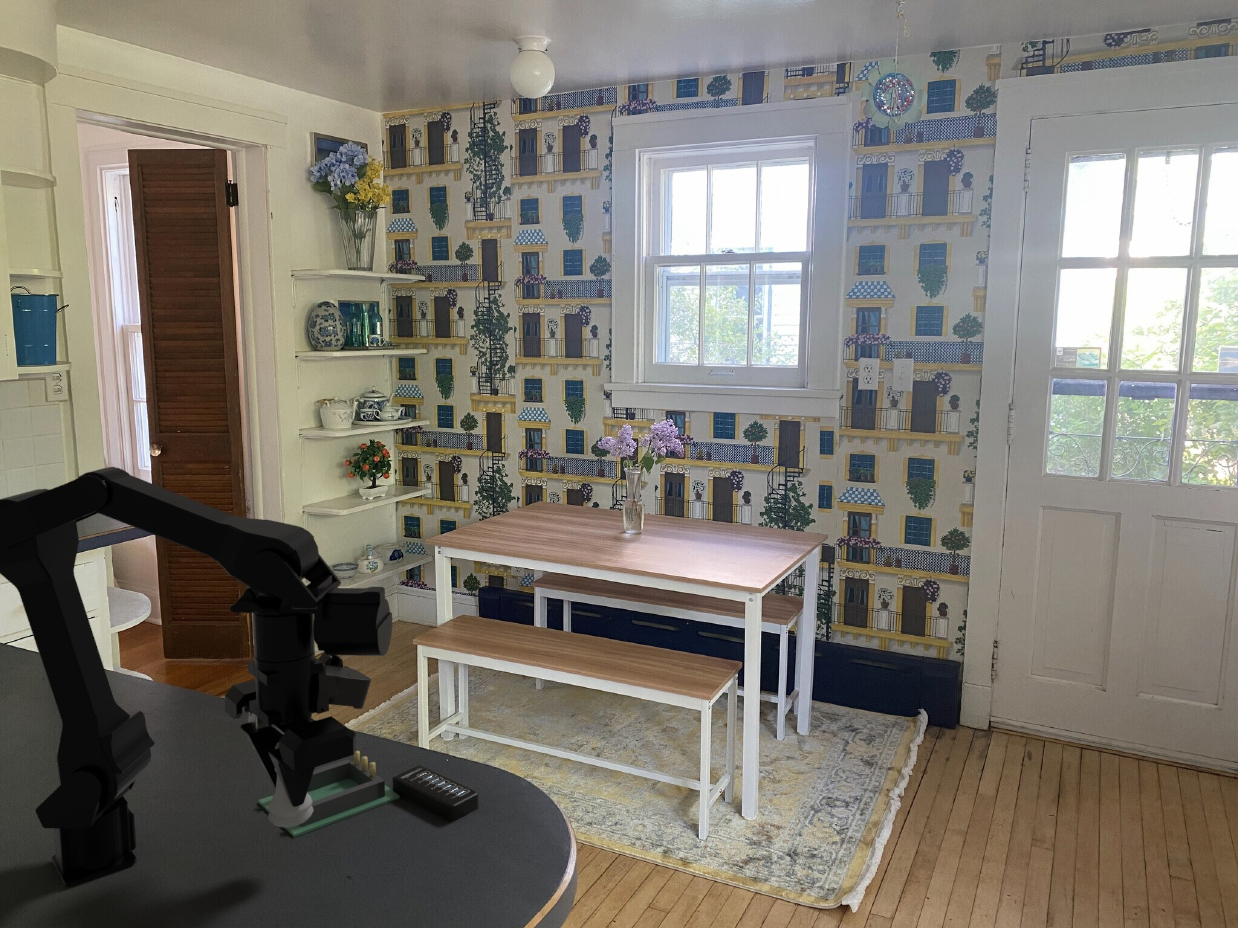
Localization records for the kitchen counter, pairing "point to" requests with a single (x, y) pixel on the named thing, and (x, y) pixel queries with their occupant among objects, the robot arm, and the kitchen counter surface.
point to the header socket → (341, 793)
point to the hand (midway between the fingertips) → (290, 797)
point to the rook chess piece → (287, 807)
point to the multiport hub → (435, 793)
